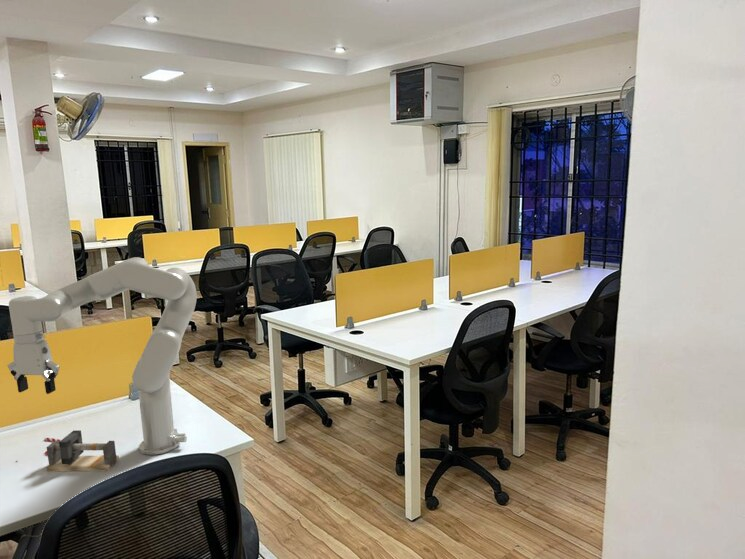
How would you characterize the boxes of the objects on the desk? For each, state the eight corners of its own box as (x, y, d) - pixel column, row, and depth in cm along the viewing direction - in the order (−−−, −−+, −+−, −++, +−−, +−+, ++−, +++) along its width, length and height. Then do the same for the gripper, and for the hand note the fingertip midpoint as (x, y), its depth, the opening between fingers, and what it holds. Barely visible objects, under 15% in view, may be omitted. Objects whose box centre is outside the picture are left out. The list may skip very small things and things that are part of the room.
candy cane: (55, 433, 188) (75, 445, 179) (56, 437, 188) (75, 449, 179) (31, 442, 182) (50, 455, 173) (31, 446, 182) (50, 459, 173)
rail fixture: (119, 459, 171) (116, 438, 170) (107, 470, 164) (105, 449, 163) (60, 459, 172) (57, 438, 171) (46, 471, 165) (43, 449, 164)
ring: (83, 451, 172) (80, 430, 170) (69, 464, 164) (66, 442, 163) (76, 451, 172) (73, 430, 170) (61, 464, 164) (58, 442, 163)
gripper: (63, 334, 165) (70, 388, 168) (14, 333, 168) (22, 385, 172) (44, 342, 158) (52, 397, 161) (-7, 340, 161) (2, 395, 164)
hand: (37, 391), depth 166 cm, fingers open, 9 cm apart
